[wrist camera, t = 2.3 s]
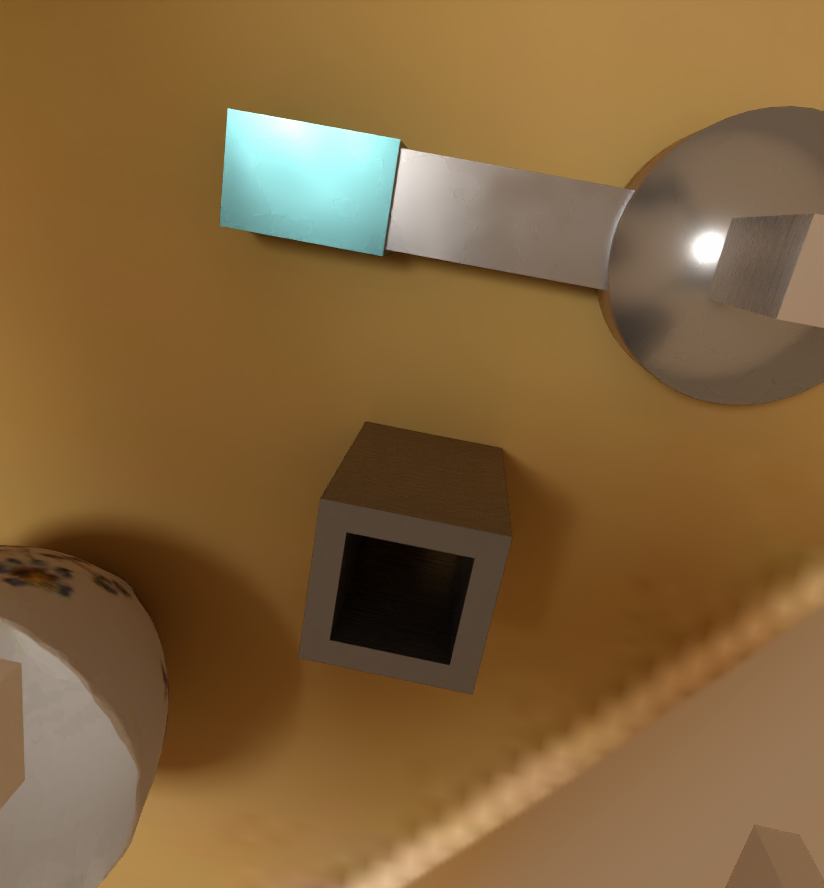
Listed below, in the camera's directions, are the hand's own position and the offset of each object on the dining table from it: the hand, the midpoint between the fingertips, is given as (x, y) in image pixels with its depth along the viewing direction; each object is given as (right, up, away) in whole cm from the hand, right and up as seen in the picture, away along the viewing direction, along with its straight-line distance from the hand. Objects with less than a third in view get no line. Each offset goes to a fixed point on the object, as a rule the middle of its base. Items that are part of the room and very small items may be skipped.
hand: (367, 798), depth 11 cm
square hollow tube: (+1, +4, +12) cm, 13 cm away
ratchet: (+5, +13, +9) cm, 17 cm away
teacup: (-14, 0, +16) cm, 21 cm away
